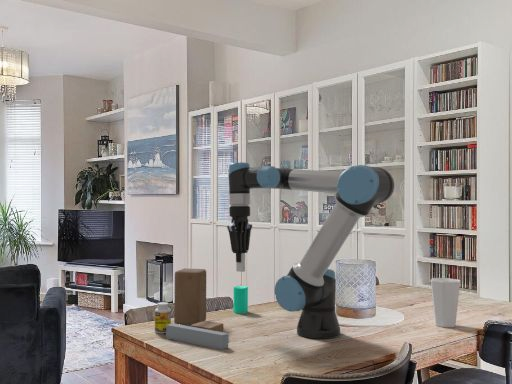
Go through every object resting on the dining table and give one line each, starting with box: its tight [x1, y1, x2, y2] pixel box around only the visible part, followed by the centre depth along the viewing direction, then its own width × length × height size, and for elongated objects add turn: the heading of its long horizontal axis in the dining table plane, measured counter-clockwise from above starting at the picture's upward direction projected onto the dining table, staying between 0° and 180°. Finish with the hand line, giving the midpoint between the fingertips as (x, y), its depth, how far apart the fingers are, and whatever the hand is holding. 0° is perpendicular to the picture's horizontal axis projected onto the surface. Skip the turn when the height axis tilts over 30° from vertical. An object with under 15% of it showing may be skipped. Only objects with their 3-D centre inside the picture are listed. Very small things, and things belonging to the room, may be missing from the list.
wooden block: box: [173, 268, 207, 326], centre depth 208 cm, size 10×10×20 cm
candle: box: [232, 285, 249, 314], centre depth 228 cm, size 6×6×12 cm
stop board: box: [165, 322, 229, 350], centre depth 178 cm, size 24×3×4 cm, turn 56°
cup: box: [429, 277, 461, 328], centre depth 205 cm, size 11×10×17 cm
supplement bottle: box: [154, 301, 172, 335], centre depth 192 cm, size 6×6×10 cm
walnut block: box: [189, 320, 224, 332], centre depth 184 cm, size 8×8×5 cm
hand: (240, 271), depth 195 cm, fingers closed
